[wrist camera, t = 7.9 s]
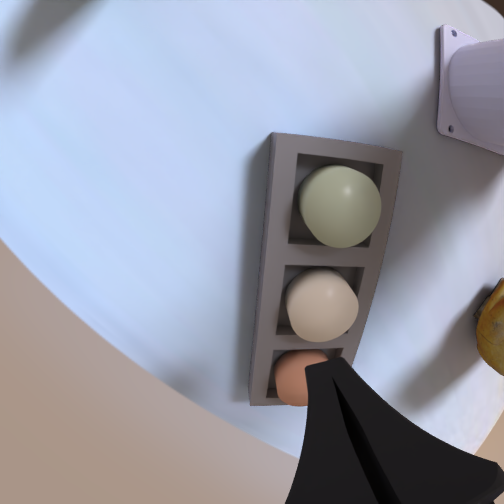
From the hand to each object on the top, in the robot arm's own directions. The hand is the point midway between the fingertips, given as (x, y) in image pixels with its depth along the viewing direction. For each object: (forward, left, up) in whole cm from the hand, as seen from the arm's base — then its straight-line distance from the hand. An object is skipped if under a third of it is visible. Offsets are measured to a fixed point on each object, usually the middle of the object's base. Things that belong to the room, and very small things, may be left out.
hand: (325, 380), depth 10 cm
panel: (-2, +2, -10) cm, 10 cm away
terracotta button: (-2, +8, -9) cm, 12 cm away
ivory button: (-2, +2, -9) cm, 9 cm away
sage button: (-2, -4, -9) cm, 10 cm away
